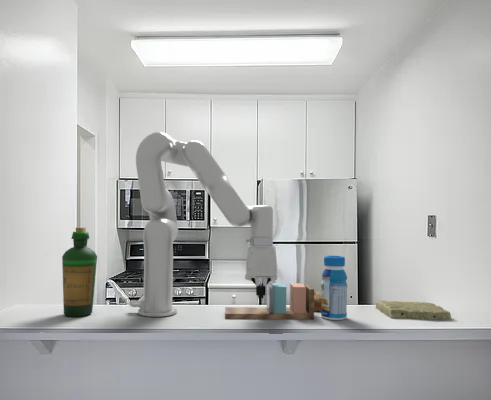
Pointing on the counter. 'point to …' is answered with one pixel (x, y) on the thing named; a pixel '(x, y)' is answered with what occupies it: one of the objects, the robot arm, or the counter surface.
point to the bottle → (79, 276)
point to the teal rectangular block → (279, 298)
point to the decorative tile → (413, 310)
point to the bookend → (270, 298)
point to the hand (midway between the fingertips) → (260, 297)
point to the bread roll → (317, 301)
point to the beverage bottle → (334, 289)
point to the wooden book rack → (264, 313)
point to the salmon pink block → (298, 298)
